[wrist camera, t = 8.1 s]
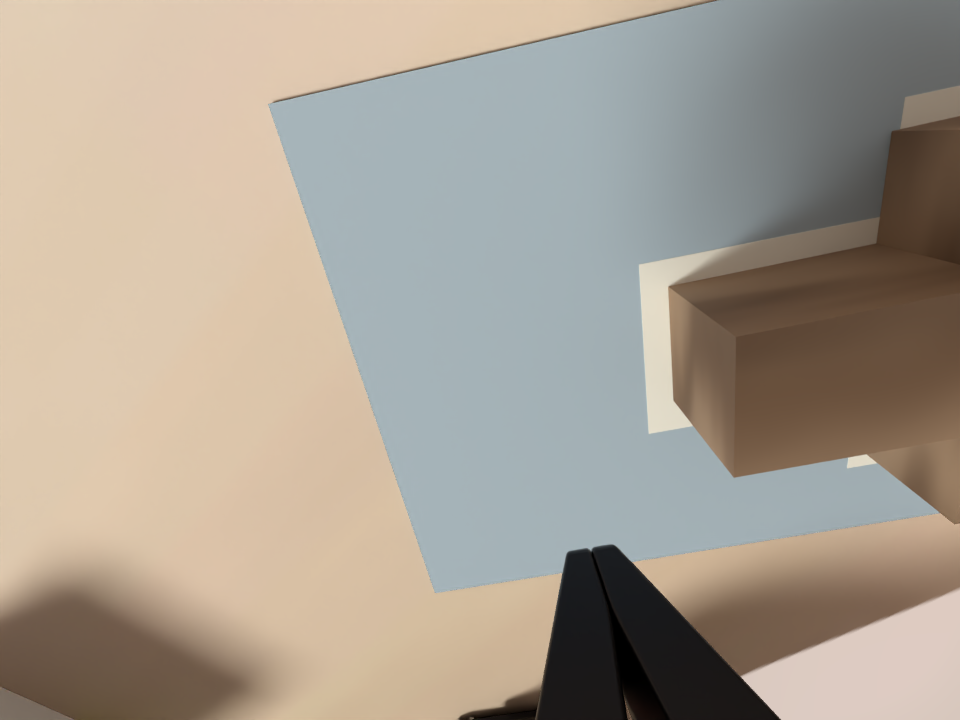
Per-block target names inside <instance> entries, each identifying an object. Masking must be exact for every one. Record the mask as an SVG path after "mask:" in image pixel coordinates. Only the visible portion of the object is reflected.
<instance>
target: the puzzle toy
mask: <svg viewBox="0 0 960 720" xmlns="http://www.w3.org/2000/svg"><path fill="white" fill-rule="evenodd" d="M0 720H74V719H72V718H70V717H68V716H65V715H63V714H61V713H58V712H56V711H54V710H52V709H49V708H47V707H45V706H43V705H40V704H38V703H36V702H34V701H31V700H29V699H27V698H25V697H22V696H20V695H18V694H16V693H13V692H11V691H9V690H7V689H4V688H2V687H0Z"/></svg>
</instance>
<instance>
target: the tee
mask: <svg viewBox="0 0 960 720" xmlns="http://www.w3.org/2000/svg"><path fill="white" fill-rule="evenodd" d="M668 297H669V318H670V339H671V361H672V382H673V401H674V402H675V403H676V405H677V406H678V407H679V408H680V410H681V411H682V412H683V414H684V415H685V416H686V417H687V419H688V420H689V421H690V422H691V424H692V425H693V426H694V428H695V429H696V430H697V431H698V433H699V434H700V435H701V437H702V438H703V439H704V440H705V442H706V443H707V444H708V445H709V447H710V448H711V449H712V451H713V452H714V453H715V454H716V456H717V457H718V458H719V460H720V461H721V462H722V463H723V465H724V466H725V467H726V469H727V470H728V471H729V472H730V474H731V475H732V476H733V477H734V478H736V477H741V476H747V475H753V474H758V473H764V472H770V471H775V470H781V469H787V468H792V467H798V466H803V465H809V464H815V463H820V462H826V461H832V460H837V459H843V458H849V457H854V456H860V455H865V454H867V455H868V456H869V457H870V458H872V459H873V460H874V461H875V462H877V463H878V464H879V465H880V466H882V467H883V468H884V469H885V470H887V471H888V472H889V473H890V474H892V475H893V476H894V477H895V478H897V479H898V480H899V481H901V482H902V483H903V484H904V485H906V486H907V487H908V488H909V489H911V490H912V491H913V492H914V493H916V494H917V495H918V496H919V497H921V498H922V499H923V500H924V501H926V502H927V503H928V504H930V505H931V506H932V507H933V508H935V509H936V510H937V511H938V512H940V513H941V514H942V515H943V516H945V517H946V518H947V519H948V520H950V521H951V522H952V523H953V524H958V523H960V116H957V117H953V118H948V119H944V120H939V121H935V122H930V123H926V124H921V125H917V126H912V127H908V128H903V129H899V130H894V131H892V133H891V140H890V147H889V155H888V162H887V169H886V176H885V184H884V191H883V198H882V205H881V212H880V220H879V227H878V234H877V241H876V244H871V245H866V246H862V247H857V248H852V249H847V250H842V251H837V252H833V253H828V254H823V255H818V256H813V257H808V258H803V259H799V260H794V261H789V262H784V263H779V264H774V265H770V266H765V267H760V268H755V269H750V270H745V271H741V272H736V273H731V274H726V275H721V276H716V277H712V278H707V279H702V280H697V281H692V282H687V283H683V284H678V285H673V286H668Z"/></svg>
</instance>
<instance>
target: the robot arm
mask: <svg viewBox="0 0 960 720" xmlns="http://www.w3.org/2000/svg"><path fill="white" fill-rule="evenodd" d="M624 697H625V700H626V703H627V706H628V709H629V711H630V714H631V717H632V720H781V719H779V717H778V716H777V715H776V714H775V713H774V712H773V711H772V710H771V709H770V708H769V707H768V705H767V704H766V703H765V702H764V701H763V700H762V699H761V698H760V697H759V696H758V695H757V694H756V693H755V692H754V691H753V690H752V689H751V688H750V686H749V685H748V684H747V683H746V682H745V681H744V680H743V679H742V678H741V677H740V676H739V675H738V674H737V673H736V672H735V671H734V670H733V669H732V667H731V666H730V665H729V664H728V663H727V662H726V661H725V660H724V659H723V658H722V657H721V656H720V655H719V654H718V653H717V652H716V651H715V650H714V648H713V647H712V646H711V645H710V644H709V643H708V642H707V641H706V640H705V639H704V638H703V637H702V636H701V635H700V634H699V633H698V632H697V631H696V629H695V628H694V627H693V626H692V625H691V624H690V623H689V622H688V621H687V620H686V619H685V618H684V617H683V616H682V615H681V614H680V613H679V612H678V610H677V609H676V608H675V607H674V606H673V605H672V604H671V603H670V602H669V601H668V600H667V599H666V598H665V597H664V596H663V595H662V594H661V593H660V591H659V590H658V589H657V588H656V587H655V586H654V585H653V584H652V583H651V582H650V581H649V580H648V579H647V578H646V577H645V576H644V575H643V574H642V572H641V571H640V570H639V569H638V568H637V567H636V566H635V565H634V564H633V563H632V562H631V561H630V560H629V559H628V558H627V557H626V556H625V555H624V553H623V552H622V551H621V550H620V549H619V548H618V547H617V546H615V545H613V544H608V545H602V546H596V547H593V548H592V550H591V551H590V549H588V548H583V549H577V550H571V551H568V552H567V554H566V557H565V562H564V568H563V573H562V579H561V584H560V589H559V595H558V600H557V605H556V611H555V616H554V622H553V627H552V632H551V638H550V643H549V648H548V654H547V659H546V665H545V670H544V675H543V681H542V686H541V691H540V697H539V702H538V708H537V711H530V712H523V713H515V714H508V715H501V716H494V717H487V718H480V719H473V720H627V713H626V706H625V700H624Z"/></svg>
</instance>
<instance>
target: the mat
mask: <svg viewBox="0 0 960 720" xmlns="http://www.w3.org/2000/svg"><path fill="white" fill-rule="evenodd" d="M268 105H269V108H270V111H271V114H272V117H273V120H274V123H275V126H276V129H277V132H278V134H279V137H280V140H281V143H282V146H283V149H284V152H285V155H286V158H287V161H288V164H289V167H290V170H291V173H292V175H293V178H294V181H295V184H296V187H297V190H298V193H299V196H300V199H301V202H302V205H303V208H304V211H305V214H306V216H307V219H308V222H309V225H310V228H311V231H312V234H313V237H314V240H315V243H316V246H317V249H318V252H319V255H320V257H321V260H322V263H323V266H324V269H325V272H326V275H327V278H328V281H329V284H330V287H331V290H332V293H333V296H334V298H335V301H336V304H337V307H338V310H339V313H340V316H341V319H342V322H343V325H344V328H345V331H346V334H347V337H348V339H349V342H350V345H351V348H352V351H353V354H354V357H355V360H356V363H357V366H358V369H359V372H360V375H361V378H362V380H363V383H364V386H365V389H366V392H367V395H368V398H369V401H370V404H371V407H372V410H373V413H374V416H375V419H376V421H377V424H378V427H379V430H380V433H381V436H382V439H383V442H384V445H385V448H386V451H387V454H388V457H389V460H390V462H391V465H392V468H393V471H394V474H395V477H396V480H397V483H398V486H399V489H400V492H401V495H402V498H403V501H404V503H405V506H406V509H407V512H408V515H409V518H410V521H411V524H412V527H413V530H414V533H415V536H416V539H417V541H418V544H419V547H420V550H421V553H422V556H423V559H424V562H425V565H426V568H427V571H428V574H429V577H430V580H431V582H432V585H433V588H434V591H435V593H438V592H445V591H451V590H457V589H464V588H470V587H476V586H483V585H489V584H495V583H502V582H508V581H514V580H521V579H527V578H533V577H540V576H546V575H552V574H559V573H563V568H564V562H565V557H566V554H567V552H568V551H571V550H577V549H583V548H588V549H590V551H591V550H592V548H593V547H596V546H602V545H608V544H613V545H615V546H617V547H618V548H619V549H620V550H621V551H622V552H623V553H624V555H625V556H626V557H627V558H628V559H629V560H630V561H631V562H635V561H641V560H647V559H653V558H660V557H666V556H672V555H679V554H685V553H691V552H698V551H704V550H710V549H717V548H723V547H729V546H736V545H742V544H748V543H755V542H761V541H767V540H774V539H780V538H786V537H793V536H799V535H805V534H812V533H818V532H824V531H831V530H837V529H843V528H850V527H856V526H862V525H869V524H875V523H881V522H887V521H894V520H900V519H906V518H913V517H919V516H925V515H932V514H938V513H940V512H938V511H937V510H936V509H935V508H933V507H932V506H931V505H930V504H928V503H927V502H926V501H924V500H923V499H922V498H921V497H919V496H918V495H917V494H916V493H914V492H913V491H912V490H911V489H909V488H908V487H907V486H906V485H904V484H903V483H902V482H901V481H899V480H898V479H897V478H895V477H894V476H893V475H892V474H890V473H889V472H888V471H887V470H885V469H884V468H883V467H882V466H880V465H879V464H878V463H877V462H875V461H874V460H873V459H872V458H870V457H869V456H868V455H867V454H865V455H860V456H854V457H849V458H843V459H837V460H832V461H826V462H820V463H815V464H809V465H803V466H798V467H792V468H787V469H781V470H775V471H770V472H764V473H758V474H753V475H747V476H741V477H736V478H734V477H733V476H732V475H731V474H730V472H729V471H728V470H727V469H726V467H725V466H724V465H723V463H722V462H721V461H720V460H719V458H718V457H717V456H716V454H715V453H714V452H713V451H712V449H711V448H710V447H709V445H708V444H707V443H706V442H705V440H704V439H703V438H702V437H701V435H700V434H699V433H698V431H697V430H696V429H695V428H694V426H693V425H692V424H691V422H690V421H689V420H688V419H687V417H686V416H685V415H684V414H683V412H682V411H681V410H680V408H679V407H678V406H677V405H676V403H675V402H674V401H673V382H672V361H671V339H670V318H669V297H668V286H673V285H678V284H683V283H687V282H692V281H697V280H702V279H707V278H712V277H716V276H721V275H726V274H731V273H736V272H741V271H745V270H750V269H755V268H760V267H765V266H770V265H774V264H779V263H784V262H789V261H794V260H799V259H803V258H808V257H813V256H818V255H823V254H828V253H833V252H837V251H842V250H847V249H852V248H857V247H862V246H866V245H871V244H876V241H877V234H878V227H879V220H880V212H881V205H882V198H883V191H884V184H885V176H886V169H887V162H888V155H889V147H890V140H891V133H892V131H894V130H899V129H903V128H908V127H912V126H917V125H921V124H926V123H930V122H935V121H939V120H944V119H948V118H953V117H957V116H960V0H718V1H713V2H709V3H705V4H700V5H696V6H692V7H687V8H683V9H679V10H674V11H670V12H666V13H661V14H657V15H653V16H648V17H644V18H640V19H635V20H631V21H627V22H622V23H618V24H614V25H609V26H605V27H601V28H596V29H592V30H588V31H583V32H579V33H575V34H570V35H566V36H562V37H557V38H553V39H549V40H544V41H540V42H536V43H531V44H527V45H523V46H518V47H514V48H510V49H505V50H501V51H497V52H492V53H488V54H484V55H479V56H475V57H471V58H466V59H462V60H458V61H453V62H449V63H445V64H440V65H436V66H432V67H427V68H423V69H419V70H414V71H410V72H406V73H401V74H397V75H392V76H388V77H384V78H379V79H375V80H371V81H366V82H362V83H358V84H353V85H349V86H345V87H340V88H336V89H332V90H327V91H323V92H319V93H314V94H310V95H306V96H301V97H297V98H293V99H288V100H284V101H280V102H275V103H271V104H268Z"/></svg>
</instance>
